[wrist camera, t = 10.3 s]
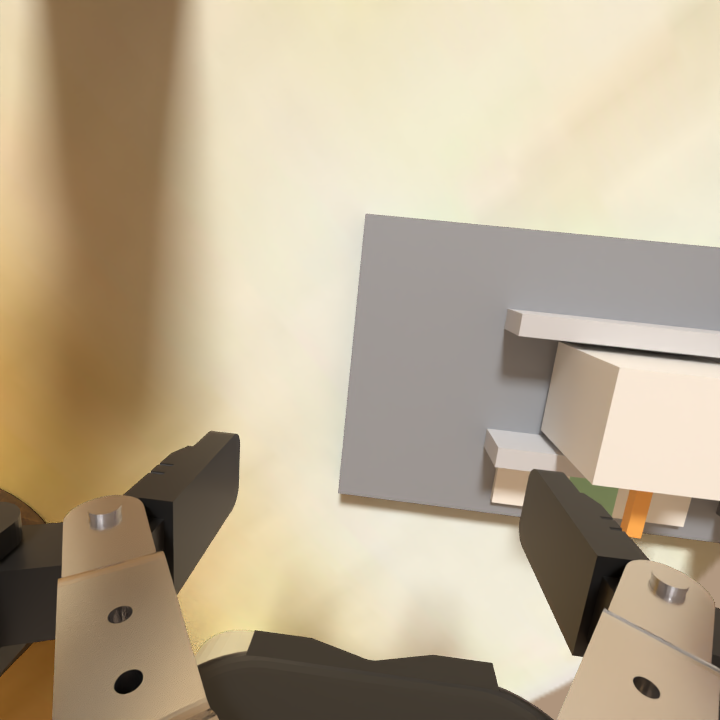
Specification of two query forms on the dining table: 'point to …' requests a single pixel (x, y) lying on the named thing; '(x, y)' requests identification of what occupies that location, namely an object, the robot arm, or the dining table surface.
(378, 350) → the stand
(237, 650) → the reusable coffee cup
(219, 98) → the dining table surface
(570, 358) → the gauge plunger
